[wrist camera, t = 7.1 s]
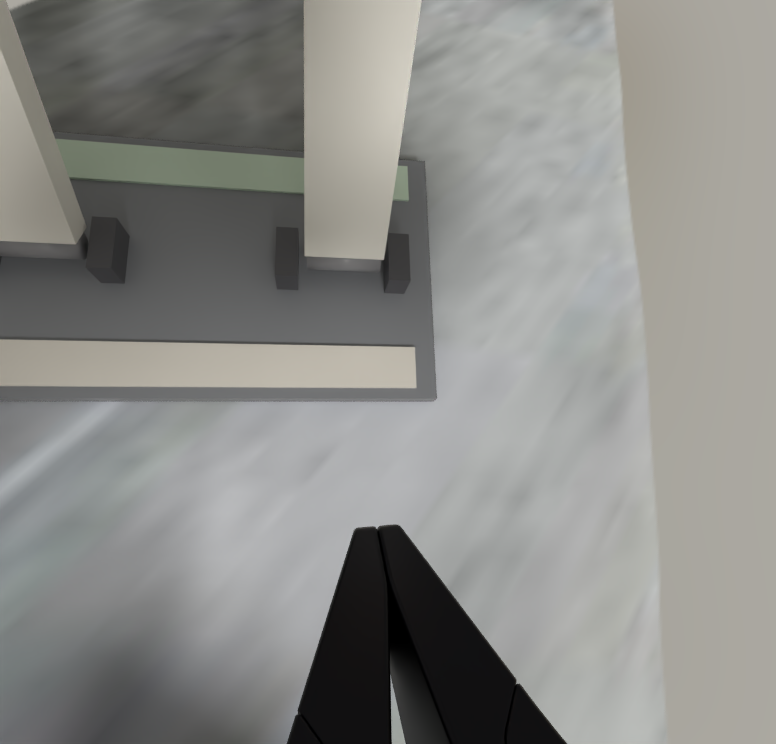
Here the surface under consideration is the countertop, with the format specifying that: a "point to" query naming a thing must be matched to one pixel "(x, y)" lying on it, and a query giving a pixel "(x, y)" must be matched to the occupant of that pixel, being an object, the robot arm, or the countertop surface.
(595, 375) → the countertop surface
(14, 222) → the on lever
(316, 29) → the lever
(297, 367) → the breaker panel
